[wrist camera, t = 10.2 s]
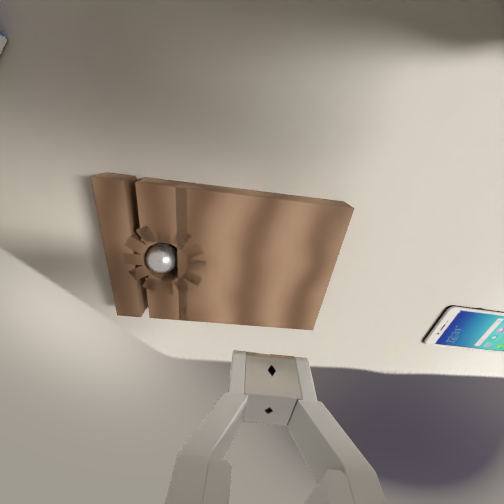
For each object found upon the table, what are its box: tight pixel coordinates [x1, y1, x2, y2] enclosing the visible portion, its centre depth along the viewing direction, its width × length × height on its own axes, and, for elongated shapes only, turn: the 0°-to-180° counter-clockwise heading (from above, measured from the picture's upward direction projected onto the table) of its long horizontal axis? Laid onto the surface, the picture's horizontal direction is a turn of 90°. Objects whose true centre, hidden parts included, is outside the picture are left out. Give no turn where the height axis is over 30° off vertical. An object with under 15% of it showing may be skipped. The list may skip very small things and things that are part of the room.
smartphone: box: [423, 305, 504, 353], centre depth 33 cm, size 8×1×15 cm
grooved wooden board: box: [91, 173, 354, 330], centre depth 25 cm, size 24×16×2 cm, turn 83°
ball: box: [146, 244, 177, 273], centre depth 25 cm, size 3×3×3 cm
